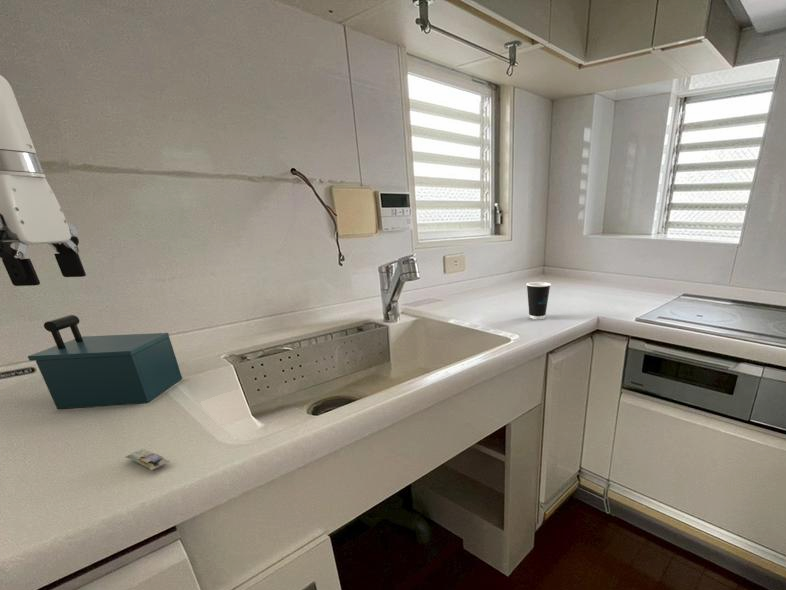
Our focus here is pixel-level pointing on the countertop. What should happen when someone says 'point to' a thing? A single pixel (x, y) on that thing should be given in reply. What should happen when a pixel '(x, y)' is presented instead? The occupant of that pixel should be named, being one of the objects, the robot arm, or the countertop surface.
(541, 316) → the dixie cup
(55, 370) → the teal box
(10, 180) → the robot arm
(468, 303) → the countertop surface
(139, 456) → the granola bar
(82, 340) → the teal handled lid
